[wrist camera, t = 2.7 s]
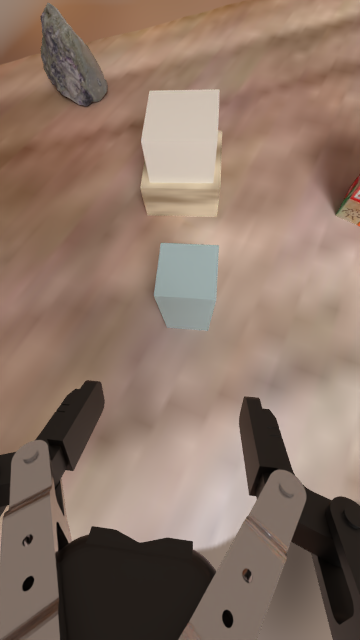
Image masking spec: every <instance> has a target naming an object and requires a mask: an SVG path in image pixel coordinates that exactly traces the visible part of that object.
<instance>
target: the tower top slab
mask: <svg viewBox="0 0 360 640" xmlns="http://www.w3.org/2000/svg"><path fill="white" fill-rule="evenodd" d="M219 91H220V89H218V90H166V91H150V92H149V98H148V104H147V110H146V115H145V121H144V127H143V133H142V138H141V143H142V148H143V153H144V158H145V162H146V167H147V172H148V177H149V181H150V183H213V181H214V171H215V161H216V151H217V141H218V116H219Z"/></svg>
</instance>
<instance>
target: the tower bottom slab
mask: <svg viewBox="0 0 360 640" xmlns="http://www.w3.org/2000/svg"><path fill="white" fill-rule="evenodd" d="M221 153H222V131H218V141H217V151H216V161H215V171H214V181H213V183H150V181H149V177H148V172H147V167H146V162H144V168H143V174H142V180H141V187H140V189H141V193H142V196H143V200H144V204H145V208H146V212H147V215H154V216H196V217H217V210H218V203H219V195H220V185H221Z"/></svg>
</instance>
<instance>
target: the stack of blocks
mask: <svg viewBox="0 0 360 640" xmlns="http://www.w3.org/2000/svg"><path fill="white" fill-rule="evenodd" d="M336 216H337V217H340V218H342V219H345V220H347V221H349V222H352V223H354V224H356V225H358V226H360V175H359V176H358V178H357V179H356V180H355V181H354V183H353V184H352V185H351V187H350V189H349V191H348V193H347V194H346V196H345V198H344V201H343V203H342V205H341V206H340V208H339V210H338V212H337V214H336Z"/></svg>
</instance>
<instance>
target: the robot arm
mask: <svg viewBox="0 0 360 640" xmlns="http://www.w3.org/2000/svg"><path fill="white" fill-rule="evenodd" d="M103 408H104V395H103V390H102V384H101V382H99V381H89V380H87V381H85V382H84V384H83V385H82V387H81V388H80V389H75V390H74V391H72V392H71V393H70V394H69V395H67V396H66V398H65V399H64V401H63V402H62V403H61V405H60V406H59V408H58V409H57V411H56V412H55V413H54V415H53V416H52V418H51V419H50V420H49V422H48V423H47V425H46V426H45V427H44V429H43V430H42V432H41V433H40V434H39V436H38V437H37V438H36V440H35V441H31V442H29V443H27V444H25V445H24V446H22V447H21V448H20V449H19V450H18V451H17V452H13V453H8V454H3V455H0V516H1V515H2V513H3V511H4V510H5V508H6V506H7V505H9V510H8V511H7V512H5V514H4V517H3V523H2V538H1V554H0V640H257V637H258V635H259V632H260V629H261V627H262V624H263V621H264V618H265V616H266V613H267V610H268V607H269V605H270V602H271V599H272V596H273V594H274V591H275V588H276V586H277V583H278V580H279V578H280V575H281V572H282V570H283V567H284V564H285V561H286V557H287V551H288V548H289V545H290V542H293V543H295V544H296V545H298V546H300V547H302V548H304V549H305V550H307V551H309V552H311V555H312V559H313V562H314V566H315V570H316V574H317V578H318V582H319V586H320V590H321V594H322V598H323V602H324V606H325V610H326V614H327V618H328V622H329V626H330V630H331V634H332V638H333V640H360V506H359V505H358V504H357V503H356V502H354V501H352V500H351V499H348V498H346V497H336V498H334V499H333V500H330V499H327V498H325V497H323V496H321V495H319V494H317V493H314V492H312V491H311V490H309V489H307V488H306V487H305V486H304V485H303V484H302V483H301V482H300V480H299V479H298V478H297V477H296V476H295V474H294V473H293V470H292V467H291V464H290V461H289V458H288V455H287V452H286V448H285V445H284V442H283V439H282V436H281V433H280V430H279V426H278V423H277V420H276V418H275V416H274V415H273V414H272V412H271V411H270V410H269V409H262V406H261V402H260V399H259V398H255V397H244V399H243V403H242V407H241V412H240V417H239V427H240V434H241V441H242V448H243V455H244V462H245V469H246V475H247V482H248V489H249V495H251V496H256V497H257V501H256V503H255V504H254V506H253V508H252V510H251V512H250V514H249V515H248V516H247V517H246V519H245V521H244V522H243V524H242V526H241V528H240V530H239V531H238V533H237V535H236V537H235V539H234V541H233V542H232V544H231V546H230V548H229V550H228V552H227V553H226V555H225V557H224V559H223V561H222V562H221V565H220V566H219V568H218V570H217V572H216V570H215V569H214V567H213V566H212V565H211V564H210V562H209V561H208V560H207V559H206V558H205V557H203V556H202V555H201V554H200V553H198V552H197V551H195V550H193V541H186V540H179V539H173V538H163V539H158V540H153V541H148V542H143V543H139V542H137V541H135V540H133V539H131V538H130V537H128V536H126V535H124V534H122V533H121V532H119V531H117V530H113V529H107V528H100V527H94V526H92V528H91V531H90V533H89V535H85V536H83V537H80V538H78V539H76V540H74V541H72V539H71V533H70V529H69V525H68V521H67V515H66V508H65V500H64V493H63V485H62V479H61V477H62V475H63V473H64V472H65V470H70V471H74V469H75V467H76V464H77V462H78V460H79V458H80V456H81V454H82V452H83V450H84V448H85V446H86V444H87V442H88V440H89V438H90V436H91V434H92V432H93V430H94V428H95V426H96V424H97V422H98V420H99V418H100V416H101V413H102V411H103Z"/></svg>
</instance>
